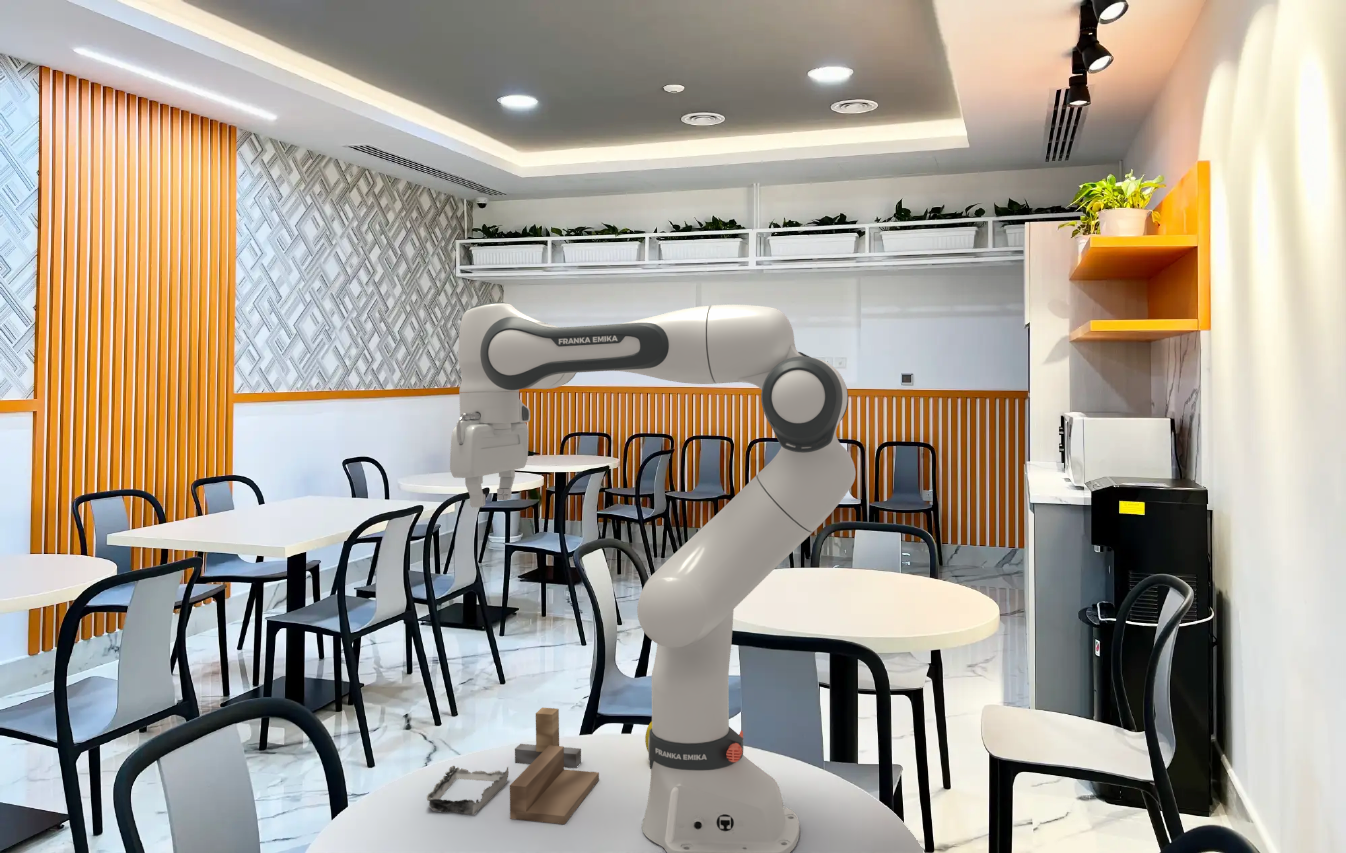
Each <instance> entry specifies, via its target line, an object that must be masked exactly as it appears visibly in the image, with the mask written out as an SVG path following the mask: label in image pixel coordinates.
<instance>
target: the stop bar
mask: <svg viewBox="0 0 1346 853" xmlns="http://www.w3.org/2000/svg"><path fill="white" fill-rule="evenodd" d="M564 747H565V746H563V745H559V746H551V745H549V746H548V747H547V748H546V749H545V750H544V751H543V752H542V753H541V754H540V755H539V756H538V757H537V758H536V759H535V760H534V761H533V762H532V763H531V764H528V766H527V767H526V768H525V769H524V770H523V771H522V772H521V773H520V774H519V775H518V776H517V778H515V779H514V780H513V781H512V782H511V783H510V784H509V819H510V820H519V821H527V822H536V823H537V822H538V823H547V824H549V823H550V824H556V825H557V824H558V825H565V824H567V822H568V821H569V819H570V818H571V817H572V815H573V814H574V813H575V812H576V811H577V809H578V808H579V806H580V805H581V804H582V803H583V801H584V800H585V799H586V797H587V796H588V795H589V794H590V792H591V791H592V790H593V789H594V787H595V786H596V785H597V783H598V782H599V780H600V772H597V771H585V770H576V769H575V770H574V769H565V767H564Z"/></svg>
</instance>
